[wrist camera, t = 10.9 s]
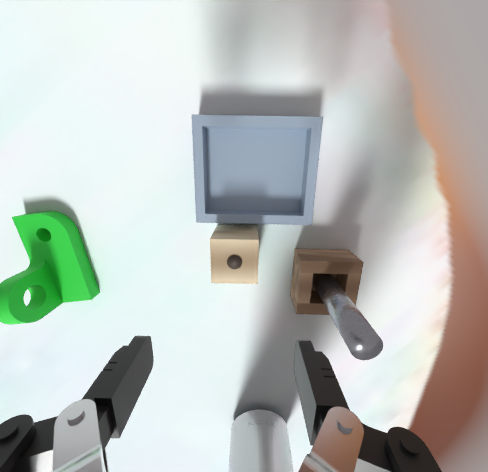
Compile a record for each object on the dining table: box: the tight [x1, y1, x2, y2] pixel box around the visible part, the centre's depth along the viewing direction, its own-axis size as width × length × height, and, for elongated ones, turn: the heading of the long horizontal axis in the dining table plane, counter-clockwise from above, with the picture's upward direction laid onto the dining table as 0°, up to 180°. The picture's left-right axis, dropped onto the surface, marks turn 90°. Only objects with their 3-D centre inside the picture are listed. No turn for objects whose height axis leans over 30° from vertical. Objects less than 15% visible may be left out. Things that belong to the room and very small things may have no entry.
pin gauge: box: [312, 273, 383, 360], centre depth 24 cm, size 3×3×12 cm
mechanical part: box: [0, 211, 100, 324], centre depth 27 cm, size 12×6×8 cm, turn 7°
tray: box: [192, 115, 323, 225], centre depth 26 cm, size 11×13×3 cm
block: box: [210, 225, 259, 284], centre depth 27 cm, size 5×5×6 cm
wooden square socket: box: [291, 249, 363, 315], centre depth 29 cm, size 7×7×4 cm
